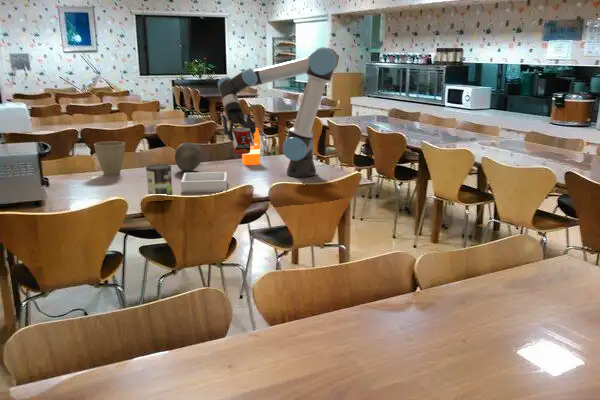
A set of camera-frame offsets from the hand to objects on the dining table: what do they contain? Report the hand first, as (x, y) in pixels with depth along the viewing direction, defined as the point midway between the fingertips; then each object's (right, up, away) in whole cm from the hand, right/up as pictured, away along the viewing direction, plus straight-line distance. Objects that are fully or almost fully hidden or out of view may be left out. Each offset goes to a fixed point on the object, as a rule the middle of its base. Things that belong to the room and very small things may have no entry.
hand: (244, 145), depth 244 cm
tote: (-19, -19, +5) cm, 27 cm away
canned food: (-2, -3, +4) cm, 5 cm away
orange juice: (-2, -4, +57) cm, 58 cm away
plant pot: (-71, -12, +29) cm, 77 cm away
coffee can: (-35, -24, -14) cm, 45 cm away
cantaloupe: (-33, -10, +36) cm, 50 cm away
